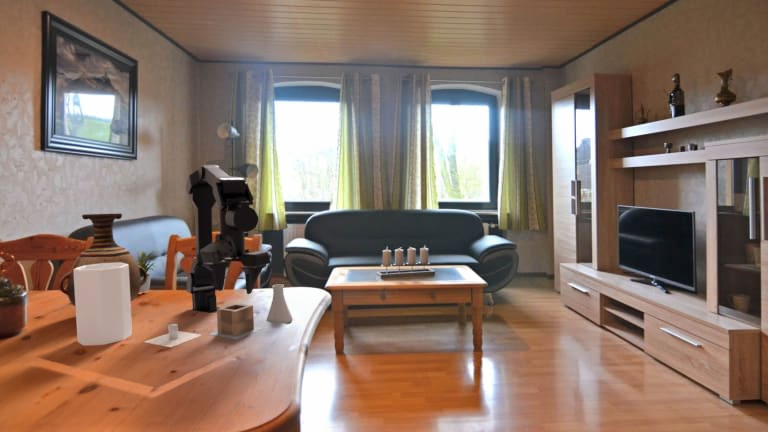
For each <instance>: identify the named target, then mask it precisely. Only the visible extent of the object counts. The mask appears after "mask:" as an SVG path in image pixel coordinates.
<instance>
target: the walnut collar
mask: <svg viewBox="0 0 768 432" xmlns="http://www.w3.org/2000/svg"><path fill="white" fill-rule="evenodd" d="M254 320H255V319H254V305H252V304H245V303H231V304H228V305H226V306H222V307H220V308H219V309H217V310H216V321H217V331H218V333H219V334H225V335H231V336H239V335H241V334H244V333H246V332H248V331H251V330H253V329H254V327H255V323H254Z"/></svg>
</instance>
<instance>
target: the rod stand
mask: <svg viewBox="0 0 768 432" xmlns="http://www.w3.org/2000/svg"><path fill="white" fill-rule="evenodd" d="M167 327H168V329H167V330H168V333H166V334H162V335H159V336H157V337H154V338H151V339H148V340H145V341H144V343H146V344H152V345H156V346H162V347H167V348H172V347H175V346H178V345H181V344H183V343H185V342H189V341H191V340H193V339H196V338H199V337H201V336H203V334H199V333H198V334H197V333H193V332H187V331H186V332H185V331H182V330H179V328H178V327H179V326H178V323H170V324H168V325H167Z"/></svg>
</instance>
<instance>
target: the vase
mask: <svg viewBox="0 0 768 432" xmlns="http://www.w3.org/2000/svg"><path fill="white" fill-rule="evenodd" d="M122 216H123V214H122V213H117V212H116V213H88V214H87V213H85V214H84V213H83V214H81V217H82V219H83V220H90V221H91V223H92V225H93V226H92V227H93V240H92V243H91V245H90V247H89V248H87V249H85V250H84V251H82V252H81V253H80V254H79V255H78V256H77V258H76V259H75V261H74V263H73V265H72V266H71V270H70V271H69V272H67V273H65V274H64V275H63V276H62V277H61V278H60V281H59V286H58V287H59V290H60V291H61V292H62V293H63V294H64V295H66V296H67V297H68V300H69V302H70V303H71V304H72V306H73V307H76V306H75V289H74V272H73V269H75V268H77V267H81V266H84V265H92V264H100V263H125V264H128V265H129V282H130V301H131V302H132V301H134V300H135V299H137V297H138V293H139V290H140V287H141V286H142V285H143V284H145V282H146V280H147V274H148V271H147V272H146V270H145V269H144V268H142V267H141V266H139V265H138V264H137V263H138V261H136V259H134V258H135V257H134V256H133V255H132V254H131V252H130V251H129V250H128V249H126V248H125V247H123V246H121V245H118V244H117V243H116V241H115V239H114V232H113V230H114V229H113V227H114V222H115V220H120V219H122ZM139 270H141V271H142V272H143V274H144V278H143V280H140V271H139ZM65 280H68V281H67V288H66V289H64V287H63V286H64V282H65Z"/></svg>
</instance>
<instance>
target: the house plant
mask: <svg viewBox="0 0 768 432" xmlns="http://www.w3.org/2000/svg"><path fill="white" fill-rule="evenodd" d="M156 251H158V249H155V250H152V251H151V252H150V253H147V251H145V252H144V250H142V251H141V252H140V254H139V252H138V251H137V249H134V252H135V253H136V255H137V260H138V261H137V264H138V265H139V266H141V267H142V268H144V269H145V270H146V272H147V280H146V282H145V284H143V285H142V286H141V287H140V290H139V292H145V291H149V292H150V287H151V280H152V279H151V278H152V277H151V276H152V274H151V273H148V271H149V270H150V269H151V270H152V271H154V269H153V268H156V265H154V264H155V263H156V261H154V262H152V263H151V261H152V260H153V258H154V257H155V256H157V255H158V256H159V254H160V251H158V252H156ZM157 253H158V254H157ZM152 255H153V256H152ZM134 259H135V257H134ZM135 260H136V259H135ZM151 267H153V268H151ZM139 271H140V280H143V278H144V274H143V272H142V271H141V270H139Z"/></svg>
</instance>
